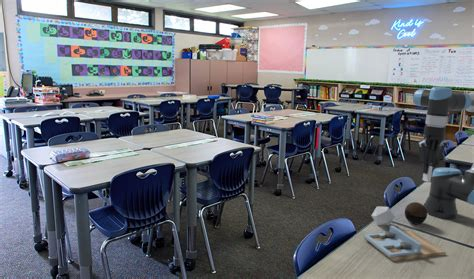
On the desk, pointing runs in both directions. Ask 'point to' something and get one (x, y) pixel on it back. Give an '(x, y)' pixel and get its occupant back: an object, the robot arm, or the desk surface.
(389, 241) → the panel
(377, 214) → the die
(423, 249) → the board
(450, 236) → the desk surface
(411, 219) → the toy
